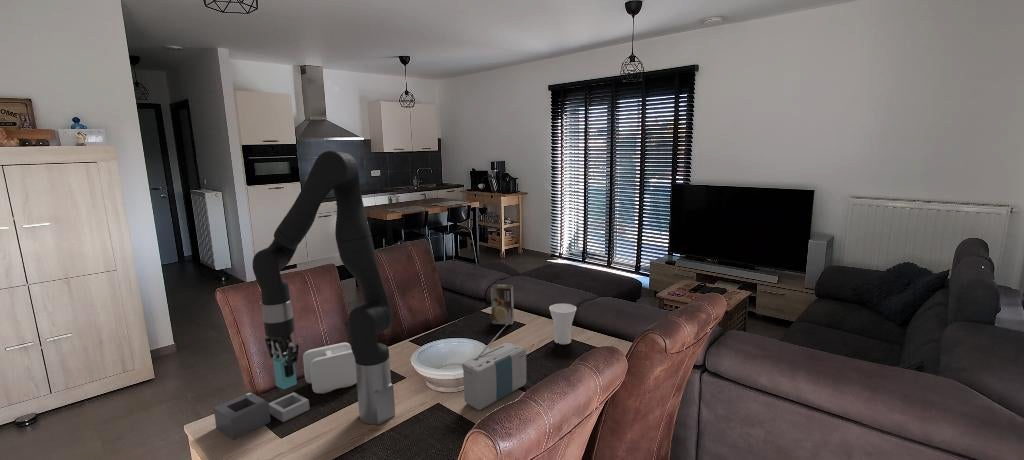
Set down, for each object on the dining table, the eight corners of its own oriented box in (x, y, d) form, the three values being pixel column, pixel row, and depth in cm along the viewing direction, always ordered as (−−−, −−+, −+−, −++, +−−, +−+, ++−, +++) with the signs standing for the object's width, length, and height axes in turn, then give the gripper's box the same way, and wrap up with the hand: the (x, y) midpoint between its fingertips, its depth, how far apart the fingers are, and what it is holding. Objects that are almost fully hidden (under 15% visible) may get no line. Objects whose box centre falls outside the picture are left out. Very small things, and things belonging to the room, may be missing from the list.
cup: (580, 339, 188) (581, 306, 185) (569, 348, 179) (569, 314, 177) (556, 334, 193) (556, 301, 191) (544, 343, 185) (544, 309, 182)
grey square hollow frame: (309, 409, 141) (308, 399, 140) (283, 422, 134) (282, 412, 134) (294, 401, 145) (293, 392, 145) (268, 413, 139) (267, 403, 138)
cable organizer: (310, 397, 147) (307, 362, 145) (305, 383, 156) (301, 350, 154) (360, 384, 155) (357, 350, 153) (352, 371, 164) (349, 339, 162)
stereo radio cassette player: (480, 414, 136) (478, 348, 133) (460, 404, 142) (458, 340, 139) (527, 387, 152) (527, 326, 148) (508, 378, 157) (507, 320, 154)
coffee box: (514, 319, 210) (514, 284, 208) (512, 325, 204) (511, 288, 201) (494, 318, 212) (493, 283, 209) (491, 324, 206) (490, 287, 203)
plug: (297, 383, 138) (293, 352, 137) (283, 389, 135) (279, 357, 134) (289, 380, 141) (285, 349, 139) (276, 386, 137) (272, 354, 136)
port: (270, 422, 134) (268, 401, 133) (233, 439, 126) (230, 418, 125) (253, 411, 140) (250, 391, 139) (216, 427, 132) (213, 406, 131)
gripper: (305, 317, 134) (311, 375, 136) (277, 309, 142) (284, 363, 144) (279, 325, 127) (286, 386, 130) (252, 316, 136) (259, 373, 138)
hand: (285, 374), depth 137 cm, fingers closed on plug, 4 cm apart
